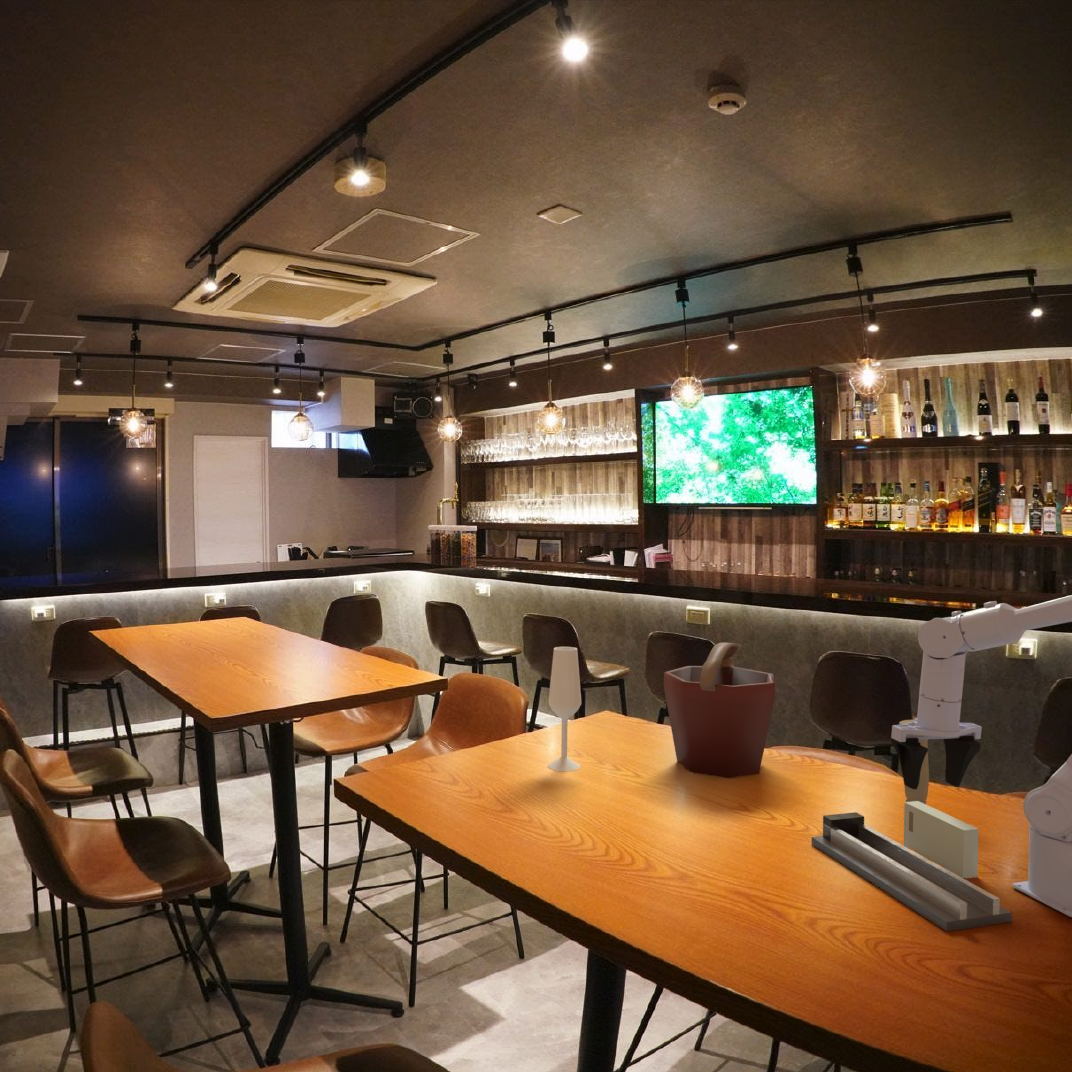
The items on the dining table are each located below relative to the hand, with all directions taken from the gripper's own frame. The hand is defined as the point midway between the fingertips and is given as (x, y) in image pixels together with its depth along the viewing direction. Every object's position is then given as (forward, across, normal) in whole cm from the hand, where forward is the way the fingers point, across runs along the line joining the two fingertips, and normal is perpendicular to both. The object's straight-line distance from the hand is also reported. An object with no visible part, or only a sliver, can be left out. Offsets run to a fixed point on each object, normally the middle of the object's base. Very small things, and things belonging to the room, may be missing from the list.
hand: (931, 785), depth 125 cm
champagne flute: (+16, +40, -55) cm, 70 cm away
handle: (+12, -13, -18) cm, 25 cm away
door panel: (+11, 0, +2) cm, 11 cm away
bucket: (+14, +8, -48) cm, 51 cm away
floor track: (+11, +10, +6) cm, 16 cm away
